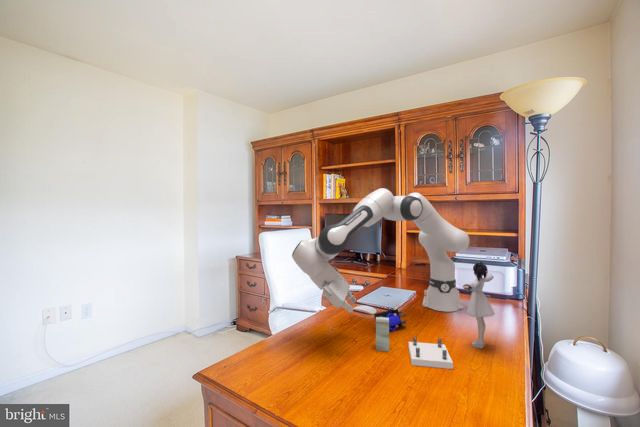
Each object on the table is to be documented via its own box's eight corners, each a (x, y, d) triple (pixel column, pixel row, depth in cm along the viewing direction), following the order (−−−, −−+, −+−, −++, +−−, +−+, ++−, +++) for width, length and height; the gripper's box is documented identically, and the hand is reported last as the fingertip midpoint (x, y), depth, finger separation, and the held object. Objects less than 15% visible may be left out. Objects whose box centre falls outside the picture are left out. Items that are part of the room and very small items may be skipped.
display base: (408, 347, 105) (408, 334, 105) (444, 350, 103) (444, 337, 102) (411, 365, 93) (411, 351, 93) (452, 369, 91) (452, 354, 91)
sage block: (376, 344, 108) (376, 317, 107) (388, 345, 107) (388, 317, 106) (375, 350, 103) (375, 321, 103) (389, 351, 102) (389, 322, 102)
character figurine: (409, 329, 121) (380, 337, 114) (397, 322, 127) (369, 329, 120) (410, 310, 120) (381, 318, 113) (398, 304, 127) (369, 310, 120)
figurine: (479, 332, 116) (479, 256, 116) (504, 339, 110) (504, 259, 110) (454, 355, 99) (454, 265, 98) (481, 364, 93) (482, 269, 92)
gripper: (327, 279, 98) (357, 310, 96) (336, 266, 118) (361, 292, 116) (314, 292, 99) (343, 323, 97) (325, 277, 119) (350, 303, 117)
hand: (353, 306), depth 107 cm, fingers open, 8 cm apart
